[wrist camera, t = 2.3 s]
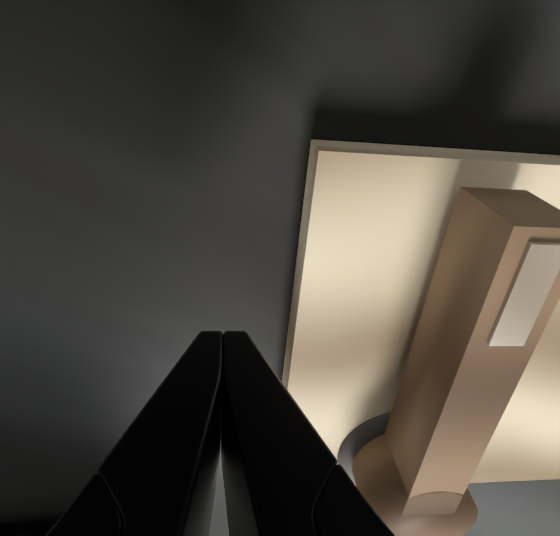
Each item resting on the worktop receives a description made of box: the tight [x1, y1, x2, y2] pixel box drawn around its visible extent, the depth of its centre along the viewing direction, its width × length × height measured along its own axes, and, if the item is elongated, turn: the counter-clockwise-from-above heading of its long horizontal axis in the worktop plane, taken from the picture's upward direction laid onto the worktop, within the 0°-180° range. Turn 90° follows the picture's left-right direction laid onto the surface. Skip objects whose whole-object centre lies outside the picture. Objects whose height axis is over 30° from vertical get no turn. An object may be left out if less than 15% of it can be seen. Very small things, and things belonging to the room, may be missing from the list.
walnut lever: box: [352, 187, 560, 536], centre depth 11 cm, size 11×3×2 cm, turn 175°
